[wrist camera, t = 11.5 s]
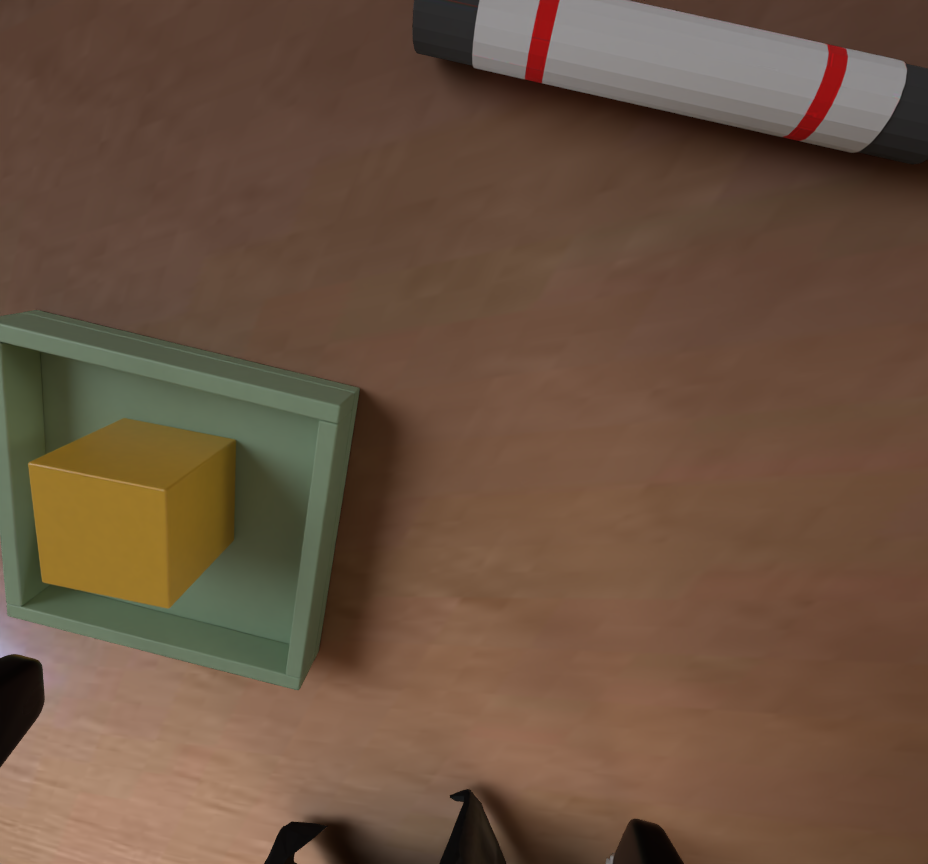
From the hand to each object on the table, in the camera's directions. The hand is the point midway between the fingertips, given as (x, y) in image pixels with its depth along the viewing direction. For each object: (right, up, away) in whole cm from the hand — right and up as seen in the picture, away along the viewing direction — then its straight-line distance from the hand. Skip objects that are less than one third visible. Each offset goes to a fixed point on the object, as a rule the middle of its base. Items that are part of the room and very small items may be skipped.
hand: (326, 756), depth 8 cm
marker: (+9, +14, +7) cm, 18 cm away
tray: (-8, +2, +12) cm, 15 cm away
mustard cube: (-8, +3, +12) cm, 14 cm away
